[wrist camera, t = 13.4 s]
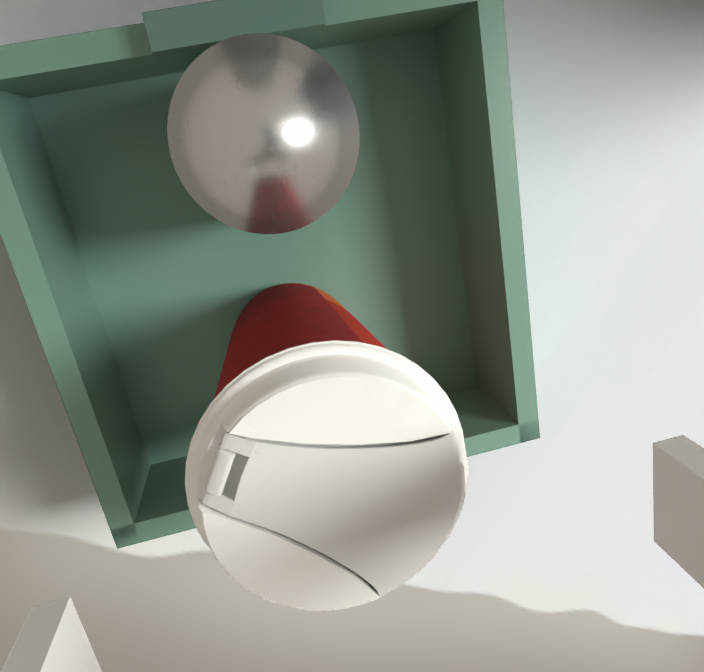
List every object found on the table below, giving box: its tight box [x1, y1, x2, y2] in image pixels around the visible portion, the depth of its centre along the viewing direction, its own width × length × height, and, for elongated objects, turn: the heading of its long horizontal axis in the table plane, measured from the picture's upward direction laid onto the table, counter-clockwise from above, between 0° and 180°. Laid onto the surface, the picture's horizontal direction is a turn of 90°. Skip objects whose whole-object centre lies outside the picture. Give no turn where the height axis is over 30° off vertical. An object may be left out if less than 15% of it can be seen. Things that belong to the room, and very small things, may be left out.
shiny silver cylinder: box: [167, 33, 360, 234], centre depth 23 cm, size 6×6×9 cm
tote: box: [0, 0, 540, 548], centre depth 26 cm, size 20×20×7 cm
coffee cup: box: [185, 283, 469, 611], centre depth 23 cm, size 8×8×15 cm
